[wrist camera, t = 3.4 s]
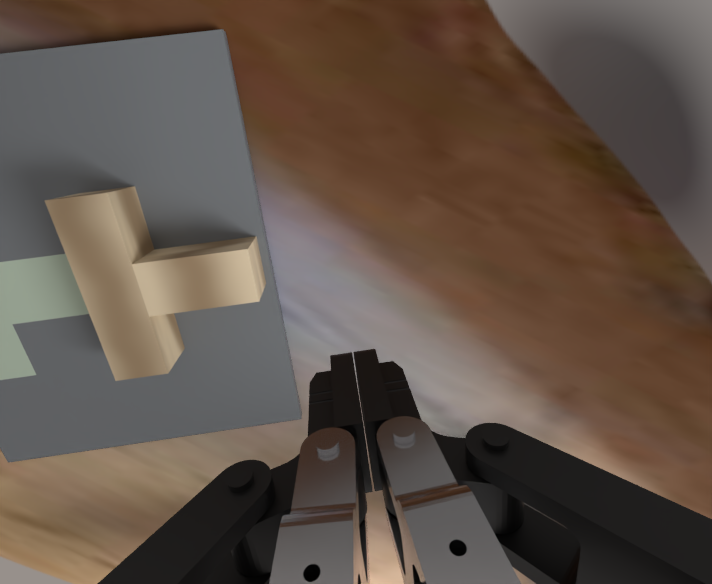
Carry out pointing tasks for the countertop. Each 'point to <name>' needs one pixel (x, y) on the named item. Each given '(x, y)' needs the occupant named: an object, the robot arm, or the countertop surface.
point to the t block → (146, 278)
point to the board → (166, 228)
